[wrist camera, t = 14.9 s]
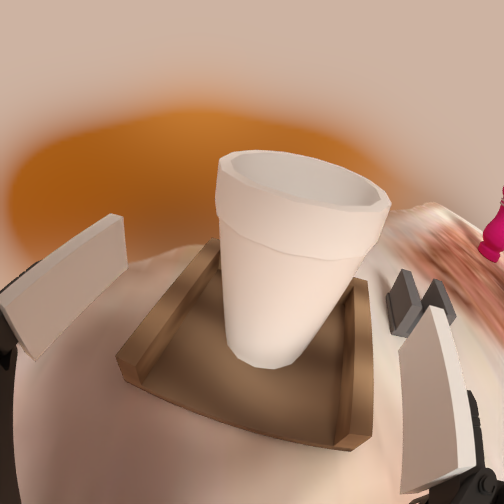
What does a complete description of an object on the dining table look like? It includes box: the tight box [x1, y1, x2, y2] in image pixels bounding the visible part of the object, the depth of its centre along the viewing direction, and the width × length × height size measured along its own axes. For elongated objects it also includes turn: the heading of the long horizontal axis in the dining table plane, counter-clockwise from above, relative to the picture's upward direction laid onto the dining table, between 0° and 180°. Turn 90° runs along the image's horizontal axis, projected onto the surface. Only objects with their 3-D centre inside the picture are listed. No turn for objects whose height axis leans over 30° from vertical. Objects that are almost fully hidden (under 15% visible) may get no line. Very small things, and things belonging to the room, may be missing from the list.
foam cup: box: [215, 150, 391, 369], centre depth 18 cm, size 10×9×13 cm
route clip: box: [386, 269, 457, 338], centre depth 25 cm, size 6×6×4 cm
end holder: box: [115, 238, 374, 452], centre depth 21 cm, size 16×16×3 cm
